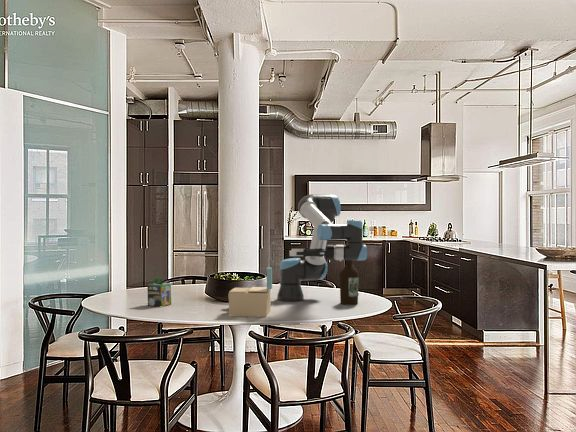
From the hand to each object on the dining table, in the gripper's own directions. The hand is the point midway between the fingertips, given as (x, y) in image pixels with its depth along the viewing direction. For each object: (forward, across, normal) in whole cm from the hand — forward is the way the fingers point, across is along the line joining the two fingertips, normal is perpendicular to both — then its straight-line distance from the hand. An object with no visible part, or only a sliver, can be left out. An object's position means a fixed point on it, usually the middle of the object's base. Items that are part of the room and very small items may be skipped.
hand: (290, 252), depth 273 cm
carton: (+20, 0, -30) cm, 36 cm away
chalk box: (+72, +21, -30) cm, 81 cm away
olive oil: (-29, +36, -30) cm, 55 cm away
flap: (+15, 0, -19) cm, 24 cm away
